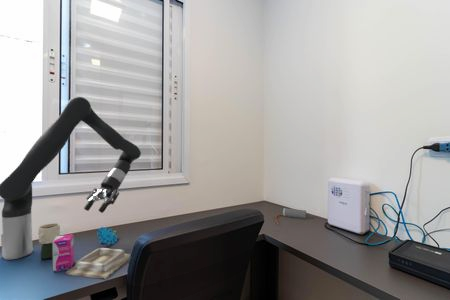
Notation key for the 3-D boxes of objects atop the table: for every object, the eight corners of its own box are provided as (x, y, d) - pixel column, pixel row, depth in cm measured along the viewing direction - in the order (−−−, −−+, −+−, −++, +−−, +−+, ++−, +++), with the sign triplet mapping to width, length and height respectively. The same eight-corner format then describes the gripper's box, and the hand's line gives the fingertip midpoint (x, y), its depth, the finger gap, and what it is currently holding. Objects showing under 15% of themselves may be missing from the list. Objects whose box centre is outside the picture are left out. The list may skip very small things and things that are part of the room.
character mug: (50, 250, 102) (49, 221, 101) (67, 250, 102) (66, 221, 102) (30, 263, 91) (29, 230, 91) (49, 263, 91) (48, 230, 91)
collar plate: (66, 274, 83) (65, 264, 83) (98, 253, 99) (98, 245, 99) (105, 279, 80) (105, 269, 80) (132, 256, 96) (132, 248, 96)
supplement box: (52, 272, 84) (51, 241, 84) (56, 265, 90) (56, 235, 89) (71, 269, 87) (70, 239, 86) (74, 262, 92) (73, 233, 92)
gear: (107, 245, 103) (94, 228, 105) (98, 254, 103) (86, 237, 105) (123, 239, 113) (111, 223, 116) (115, 247, 114) (103, 231, 116)
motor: (278, 213, 153) (278, 206, 152) (314, 217, 144) (314, 210, 143) (270, 231, 132) (269, 223, 132) (311, 237, 123) (311, 228, 122)
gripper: (97, 174, 110) (75, 204, 99) (120, 175, 105) (99, 207, 94) (107, 183, 115) (87, 213, 105) (129, 185, 110) (110, 216, 99)
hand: (93, 210), depth 99 cm, fingers open, 8 cm apart
